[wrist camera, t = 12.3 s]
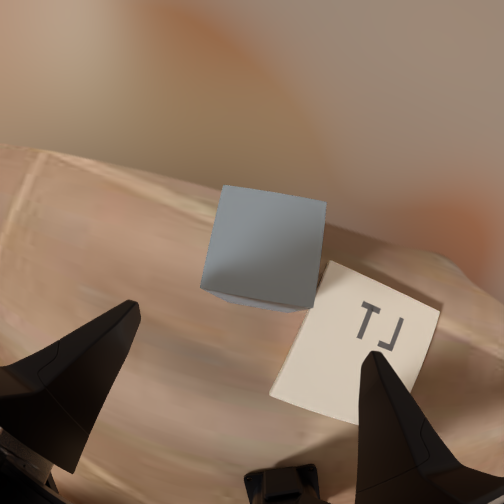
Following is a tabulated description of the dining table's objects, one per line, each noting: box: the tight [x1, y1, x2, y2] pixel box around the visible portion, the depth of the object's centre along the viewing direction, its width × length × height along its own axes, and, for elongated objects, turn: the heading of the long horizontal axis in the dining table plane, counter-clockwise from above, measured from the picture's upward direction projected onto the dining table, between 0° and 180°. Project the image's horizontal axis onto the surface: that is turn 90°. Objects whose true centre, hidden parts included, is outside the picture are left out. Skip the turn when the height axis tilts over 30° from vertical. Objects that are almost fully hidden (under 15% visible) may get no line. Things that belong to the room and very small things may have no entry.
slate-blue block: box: [200, 185, 327, 313], centre depth 18 cm, size 5×5×11 cm
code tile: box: [269, 260, 440, 425], centre depth 21 cm, size 12×12×1 cm
